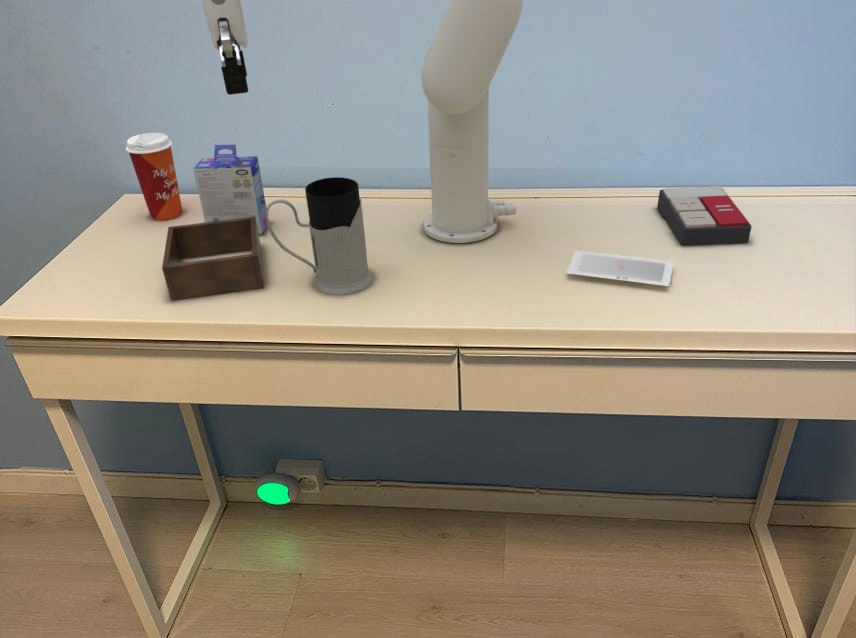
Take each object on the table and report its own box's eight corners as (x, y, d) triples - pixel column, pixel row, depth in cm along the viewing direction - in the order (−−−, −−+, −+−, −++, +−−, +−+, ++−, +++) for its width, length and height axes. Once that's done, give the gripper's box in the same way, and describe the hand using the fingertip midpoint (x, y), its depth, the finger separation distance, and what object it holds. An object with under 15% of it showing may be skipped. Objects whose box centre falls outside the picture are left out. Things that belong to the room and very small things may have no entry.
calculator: (685, 225, 118) (659, 185, 130) (680, 249, 121) (656, 207, 133) (753, 222, 119) (722, 182, 131) (748, 246, 121) (717, 205, 133)
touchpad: (575, 256, 119) (576, 244, 118) (672, 268, 115) (674, 255, 113) (565, 279, 113) (566, 266, 111) (668, 292, 109) (670, 279, 107)
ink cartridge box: (270, 222, 133) (256, 141, 125) (264, 235, 129) (249, 152, 120) (215, 223, 133) (197, 143, 125) (207, 237, 129) (188, 154, 121)
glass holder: (374, 291, 111) (364, 196, 103) (277, 301, 110) (259, 205, 101) (370, 264, 119) (360, 173, 110) (279, 273, 117) (262, 181, 108)
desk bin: (260, 246, 125) (255, 216, 122) (264, 288, 113) (257, 255, 110) (176, 257, 123) (168, 226, 119) (171, 300, 111) (161, 267, 108)
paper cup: (175, 223, 134) (155, 146, 126) (136, 221, 135) (114, 144, 127) (196, 206, 140) (178, 132, 132) (158, 204, 141) (139, 130, 133)
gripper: (239, -34, 101) (264, 96, 111) (238, -47, 115) (260, 69, 125) (182, -28, 100) (212, 102, 109) (187, -42, 114) (214, 75, 123)
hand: (237, 85), depth 117 cm, fingers open, 9 cm apart
